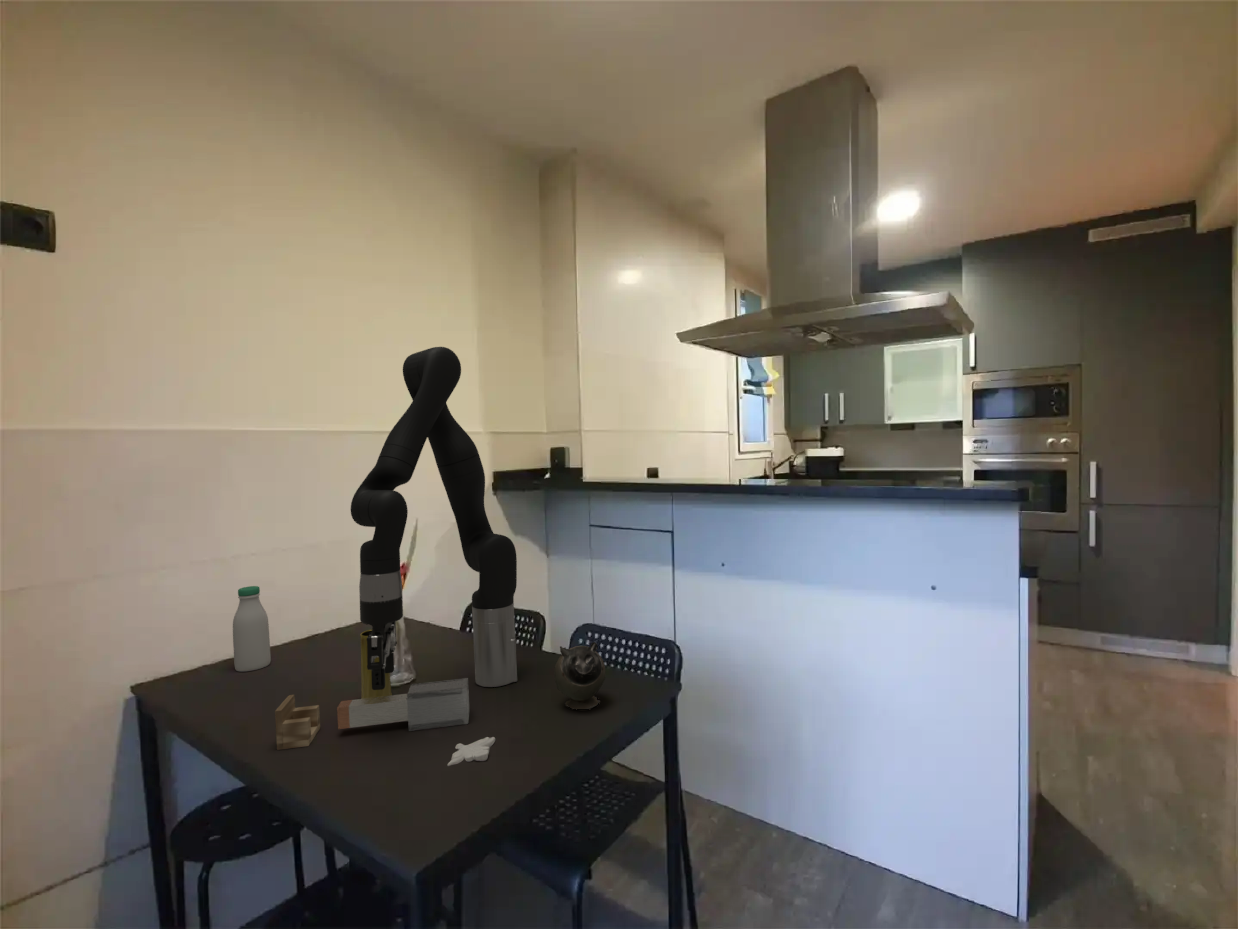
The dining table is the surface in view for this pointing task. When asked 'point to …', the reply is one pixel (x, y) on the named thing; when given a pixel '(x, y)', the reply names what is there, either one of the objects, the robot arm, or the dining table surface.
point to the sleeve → (438, 704)
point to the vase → (367, 675)
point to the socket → (295, 724)
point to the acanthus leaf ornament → (472, 751)
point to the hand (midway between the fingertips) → (383, 680)
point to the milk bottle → (250, 632)
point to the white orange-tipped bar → (372, 711)
